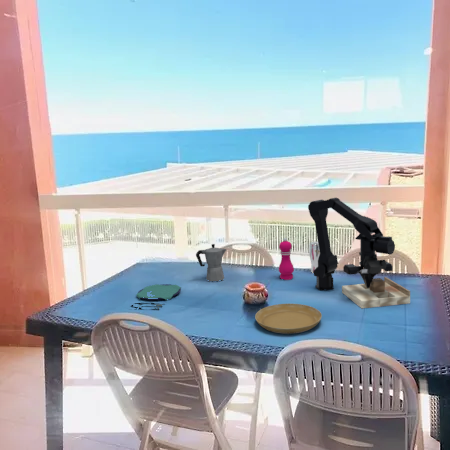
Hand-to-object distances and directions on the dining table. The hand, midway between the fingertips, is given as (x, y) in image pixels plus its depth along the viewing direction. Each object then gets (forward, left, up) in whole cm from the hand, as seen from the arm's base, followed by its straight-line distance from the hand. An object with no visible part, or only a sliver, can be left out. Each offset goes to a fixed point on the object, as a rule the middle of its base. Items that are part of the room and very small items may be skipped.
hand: (367, 288), depth 187 cm
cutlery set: (-87, +27, -5) cm, 92 cm away
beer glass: (-7, +43, -5) cm, 44 cm away
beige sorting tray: (+3, 0, -5) cm, 5 cm away
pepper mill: (-24, +38, -5) cm, 45 cm away
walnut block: (+4, 0, -2) cm, 4 cm away
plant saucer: (-38, -16, -5) cm, 42 cm away
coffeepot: (-59, +47, -5) cm, 76 cm away
